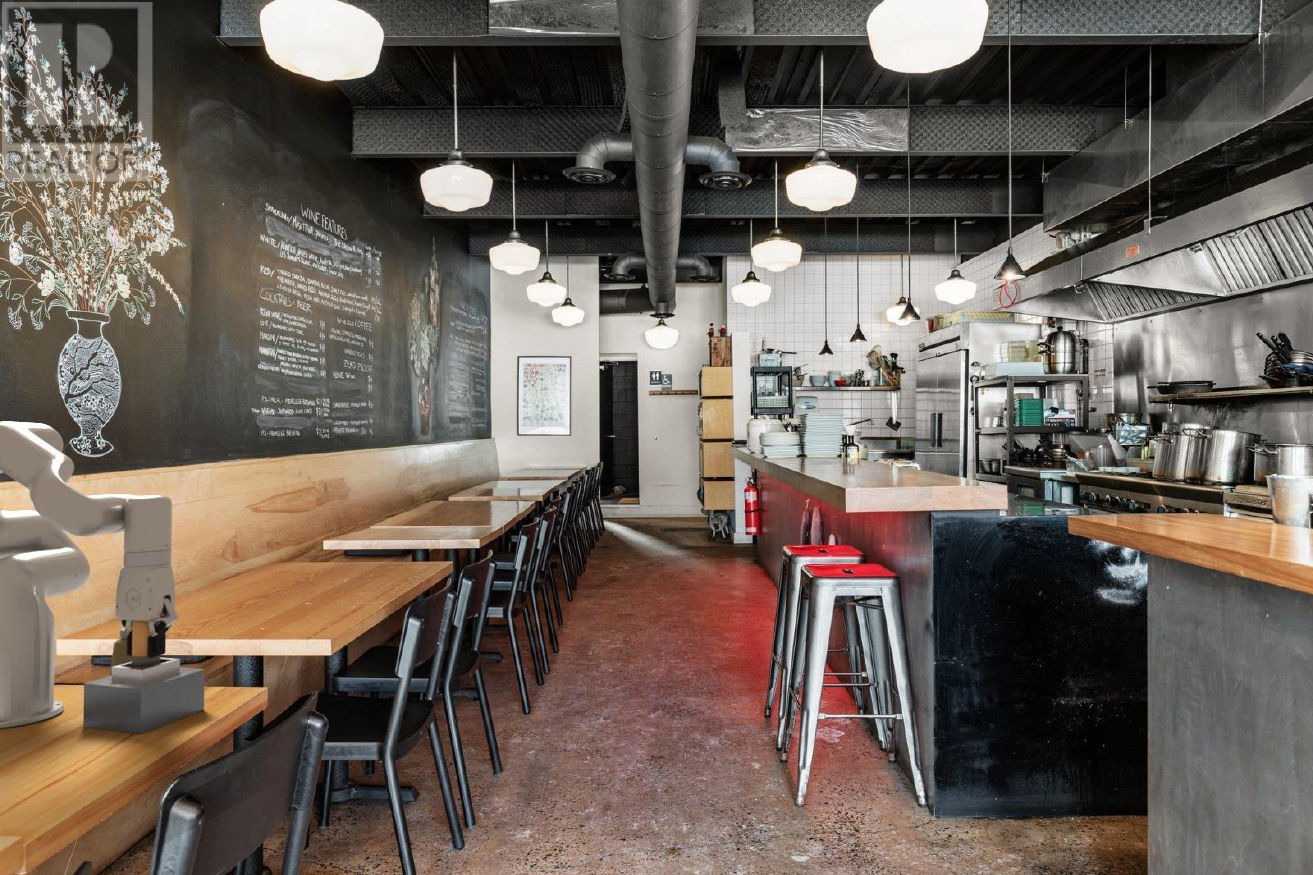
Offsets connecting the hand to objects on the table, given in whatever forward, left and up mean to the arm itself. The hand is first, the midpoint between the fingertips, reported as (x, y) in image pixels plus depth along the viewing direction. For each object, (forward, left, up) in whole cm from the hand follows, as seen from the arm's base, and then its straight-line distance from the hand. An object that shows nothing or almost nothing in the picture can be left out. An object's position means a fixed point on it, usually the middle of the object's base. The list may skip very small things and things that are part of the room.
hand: (146, 653), depth 138 cm
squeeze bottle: (-15, +9, -13) cm, 21 cm away
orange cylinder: (0, 0, -2) cm, 2 cm away
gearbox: (0, 0, -12) cm, 12 cm away
